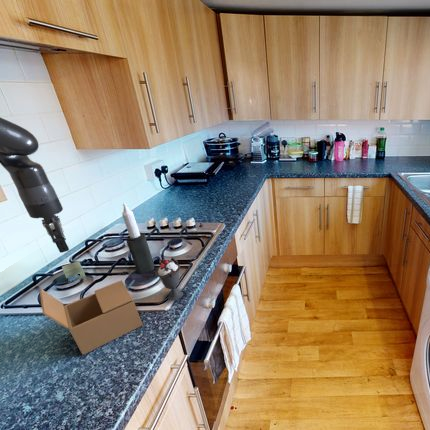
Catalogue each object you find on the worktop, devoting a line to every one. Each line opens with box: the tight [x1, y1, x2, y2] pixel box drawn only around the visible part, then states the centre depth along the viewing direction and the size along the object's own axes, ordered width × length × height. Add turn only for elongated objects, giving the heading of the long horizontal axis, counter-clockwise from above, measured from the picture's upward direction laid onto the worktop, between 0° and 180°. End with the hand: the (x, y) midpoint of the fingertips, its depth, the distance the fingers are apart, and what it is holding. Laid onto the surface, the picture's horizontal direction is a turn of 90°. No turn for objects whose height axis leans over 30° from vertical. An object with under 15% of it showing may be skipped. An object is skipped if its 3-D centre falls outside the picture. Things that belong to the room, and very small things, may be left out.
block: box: [61, 260, 87, 283], centre depth 95 cm, size 4×4×4 cm
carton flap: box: [39, 288, 69, 329], centre depth 66 cm, size 6×11×1 cm
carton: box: [63, 279, 144, 356], centre depth 74 cm, size 13×11×9 cm
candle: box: [122, 203, 155, 275], centre depth 94 cm, size 5×5×25 cm
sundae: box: [154, 257, 184, 302], centre depth 84 cm, size 7×7×15 cm
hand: (63, 246), depth 91 cm, fingers open, 8 cm apart
